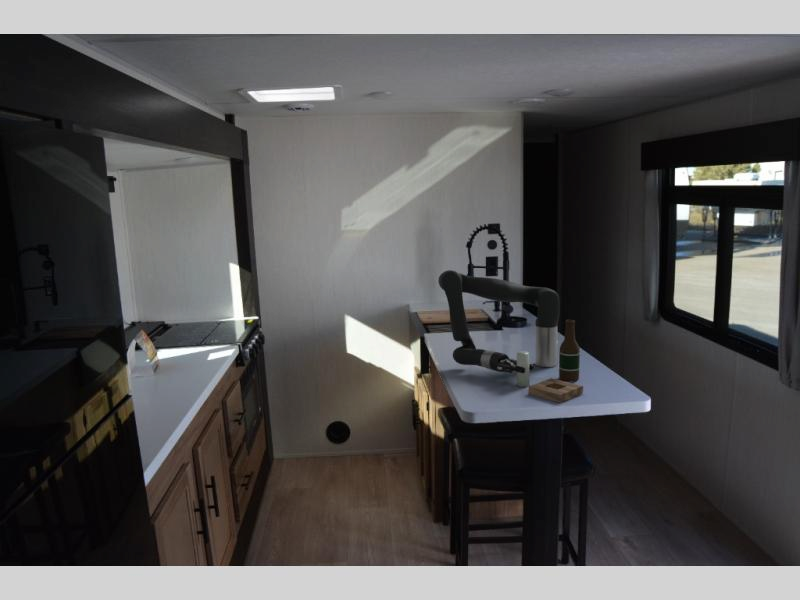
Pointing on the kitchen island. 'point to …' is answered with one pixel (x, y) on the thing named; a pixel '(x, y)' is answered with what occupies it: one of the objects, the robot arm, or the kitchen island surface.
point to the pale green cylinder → (524, 362)
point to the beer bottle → (569, 355)
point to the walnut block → (556, 390)
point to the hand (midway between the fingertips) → (528, 369)
